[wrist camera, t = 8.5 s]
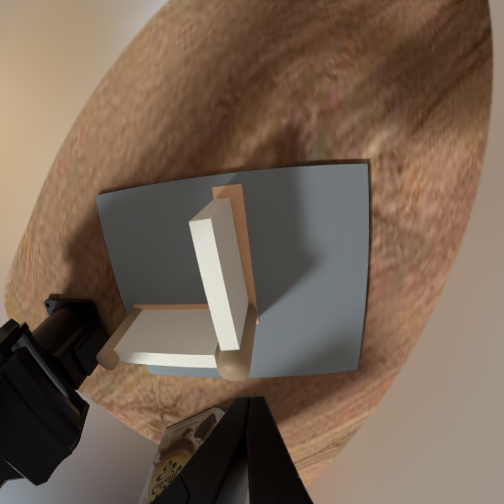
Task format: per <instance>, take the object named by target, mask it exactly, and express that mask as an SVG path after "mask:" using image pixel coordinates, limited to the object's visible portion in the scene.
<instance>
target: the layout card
mask: <svg viewBox="0 0 504 504" xmlns="http://www.w3.org/2000/svg"><path fill="white" fill-rule="evenodd" d="M229 197H230V203H231V208H232V214H233V220H234V225H235V231H236V236H237V242H238V247H239V253H240V258H241V264H242V269H243V274H244V280H245V285H246V290H247V296H248V301H249V303H248V304H251V305H252V306H254V307H255V308H256V310H257V322H256V330H255V338H254V345H253V353H252V360H251V367H250V374H249V376H248V377H247V378H268V377H290V376H305V375H318V374H329V373H338V372H347V371H355V370H358V363H359V356H360V348H361V341H362V332H363V323H364V313H365V301H366V288H367V272H368V247H369V191H368V166H367V164H366V163H359V164H331V165H312V166H297V167H284V168H272V169H261V170H251V171H242V172H233V173H224V174H217V175H209V176H202V177H195V178H188V179H181V180H175V181H169V182H163V183H157V184H151V185H145V186H140V187H135V188H129V189H124V190H119V191H114V192H110V193H105V194H100V195H97V196H95V199H96V204H97V209H98V213H99V218H100V222H101V227H102V231H103V235H104V239H105V243H106V247H107V251H108V255H109V258H110V262H111V266H112V269H113V273H114V276H115V279H116V283H117V286H118V289H119V292H120V295H121V299H122V302H123V305H124V308H125V311H126V313H127V315H128V314H129V313H130V312H131V310H132V309H133V308H140V309H142V310H190V309H209V305H208V301H207V297H206V293H205V289H204V285H203V281H202V277H201V273H200V269H199V265H198V261H197V256H196V252H195V248H194V243H193V239H192V235H191V230H190V226H189V221H190V220H191V219H192V218H194V217H195V216H196V215H197V214H198V213H199V212H200V211H201V210H202V209H204V208H205V207H206V206H207V205H208V204H209V203H210V202H212V201H213V200H217V199H223V198H229ZM146 366H147V368H148V370H149V373H150V374H156V375H168V376H183V377H205V378H223V377H221V376H220V375H219V373H218V372H217V368H199V367H176V366H160V365H147V364H146Z"/></svg>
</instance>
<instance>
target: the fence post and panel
mask: <svg viewBox="0 0 504 504" xmlns="http://www.w3.org/2000/svg"><path fill="white" fill-rule="evenodd" d="M256 322H257V310H256V308H255V307H254V306H252V305H251V304H248V308H247V313H246V318H245V324H244V329H243V334H242V339H241V344H240V350H224V351H221V349H220V345H219V342H218V338H217V335H216V331H215V327H214V324H213V320H212V316H211V313H210V309H190V310H142V309H140V308H133V309H132V310H131V312H130V313H129V314H128V315H127V317H126V318H125V319H124V320H123V322H122V323H121V324H120V325H119V327H118V328H117V329H116V331H115V332H114V333H113V334H112V336H111V337H110V338H109V340H108V341H107V342H106V344H105V345H104V346H103V348H102V349H101V350H100V352H99V353H98V354H97V356H96V358H97V361H98V363H99V364H100V365H101V366H102V367H104V368H105V369H108V370H113V369H114V368H115V367H116V365H117V364H118V362H126V363H136V364H147V365H160V366H176V367H199V368H217V372H218V373H219V375H220V376H221V377H223V378H224V379H227V380H230V381H241V380H244V379H246V378H247V377H248V376H249V374H250V367H251V360H252V353H253V345H254V338H255V330H256Z"/></svg>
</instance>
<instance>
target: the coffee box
mask: <svg viewBox="0 0 504 504" xmlns="http://www.w3.org/2000/svg"><path fill="white" fill-rule="evenodd" d="M224 414H225V412H224V411H222V410H221V409H220V408H217V407H214V408H212V409H210V410H208V411H206V412H203V413H201V414H199V415H197V416H195V417H192V418H190V419H188V420H185V421H183V422H181V423H178V424H176V425H174V426H171V427H169V428H166V429H165V431H164V434H163V437H162V440H161V442H160V445H159V448H158V451H157V453H156V456H155V459H154V462H153V464H152V468H151V470H150V473H149V476H148V479H147V481H146V485H145V487H144V490H143V493H142V495H141V498H140V502H139V504H149V503H151V502H152V501H153V500H154V499H155V498H156V497H157V496H158V495H159V494H160V493H161V492H162V491H163V490H164V489H165V488H166V487H167V486H168V485H169V484H170V482H171V481H172V480H173V479H174V478H175V476H176V475H177V474H180V473H179V472H180V471H181V469H182V468H183V467H184V466H185V464H186V463H187V462H188V461H189V459H190V458H191V457H192V456H193V454H194V453H195V452H196V451H197V449H198V448H199V447H200V445H201V444H202V443H203V442H204V440H205V439H206V438H207V436H208V435H209V434H210V432H211V431H212V430H213V428H214V427H215V426H216V424H217V423H218V422H219V420H220V419H221V418H222V416H223V415H224ZM245 504H250V502H249V485H248V491H247V496H246V502H245Z"/></svg>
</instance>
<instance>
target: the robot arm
mask: <svg viewBox="0 0 504 504" xmlns="http://www.w3.org/2000/svg"><path fill="white" fill-rule="evenodd" d="M44 304H45V307H46V309H47V312H48V314H49V317H47V318H46V319H45V320H44V321H43V322H42V323H41V324H40V325H39V326H38V327H37V328H36V329H35V330H34V331H33V332H32V333H31V331H30V330H29V326H28V325H27V323H26V322H24V323H22V324H20V325H19V323H17V322H16V321H15V320H13V319H10V320H9V321H7V322H6V323H5V324H4V325H3V326H2V327H1V328H0V488H1V487H2V486H3V485H4V484H5V482H7V481H8V480H17V479H24V478H26V479H27V480H29V481H30V482H32V484H34V485H36V486H37V485H40V484H42V483H45V482H47V481H48V479H49V478H50V476H51V475H52V473H53V472H54V470H55V469H56V467H57V466H58V465H59V464H60V463H61V462H62V461H63V460H64V459H65V458H67V457H68V456H69V455H71V454H72V452H73V450H74V449H75V448H76V447H77V445H78V443H79V441H80V438H81V434H82V430H83V427H84V423H85V420H86V416H87V413H88V410H89V406H90V405H89V404H88V403H87V402H86V401H85V400H83V399H82V398H81V397H80V395H79V394H78V393H77V392H76V391H75V390H78V389H79V387H80V386H81V384H82V383H83V382H84V380H85V379H86V377H87V376H90V375H91V374H92V372H93V371H94V370H95V368H96V367H97V365H98V364H99V363H98V361H97V358H96V356H97V354H98V353H99V352H100V350H101V349H102V348H103V346H104V345H105V344H106V342H107V341H108V338H107V335H106V333H105V330H104V328H103V325H102V323H101V320H100V318H99V315H98V313H97V310H96V307H95V305H94V303H93V302H92V301H91V300H89V299H47V300H45V302H44ZM179 473H180V474H177V475H176V476H175V478H174V479H173V480H172V481H171V482H170V484H169V485H168V486H167V487H166V488H165V489H164V490H163V491H162V492H161V493H160V494H159V495H158V496H157V497H156V498H155V499H154V500H153V501H152V502H151V503H149V504H245V502H246V496H247V491H248V485H249V502H250V504H314V503H313V501H312V500H311V498H310V496H309V494H308V492H307V491H306V489H305V487H304V485H303V482H302V480H301V478H300V477H299V474H298V472H297V470H296V468H295V465H294V463H293V461H292V459H291V457H290V455H289V452H288V450H287V448H286V446H285V443H284V441H283V439H282V437H281V434H280V432H279V430H278V427H277V425H276V423H275V421H274V418H273V416H272V414H271V411H270V409H269V407H268V404H267V402H266V399H265V397H264V396H262V395H260V396H251V397H250V396H238V397H236V399H235V400H234V401H233V403H232V404H231V405H230V407H229V408H228V410H227V411H226V412H225V414H224V415H223V416H222V418H221V419H220V420H219V422H218V423H217V424H216V426H215V427H214V428H213V430H212V431H211V432H210V434H209V435H208V436H207V438H206V439H205V440H204V442H203V443H202V444H201V445H200V447H199V448H198V449H197V451H196V452H195V453H194V454H193V456H192V457H191V458H190V459H189V461H188V462H187V463H186V464H185V466H184V467H183V468H182V469H181V471H180V472H179Z"/></svg>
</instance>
